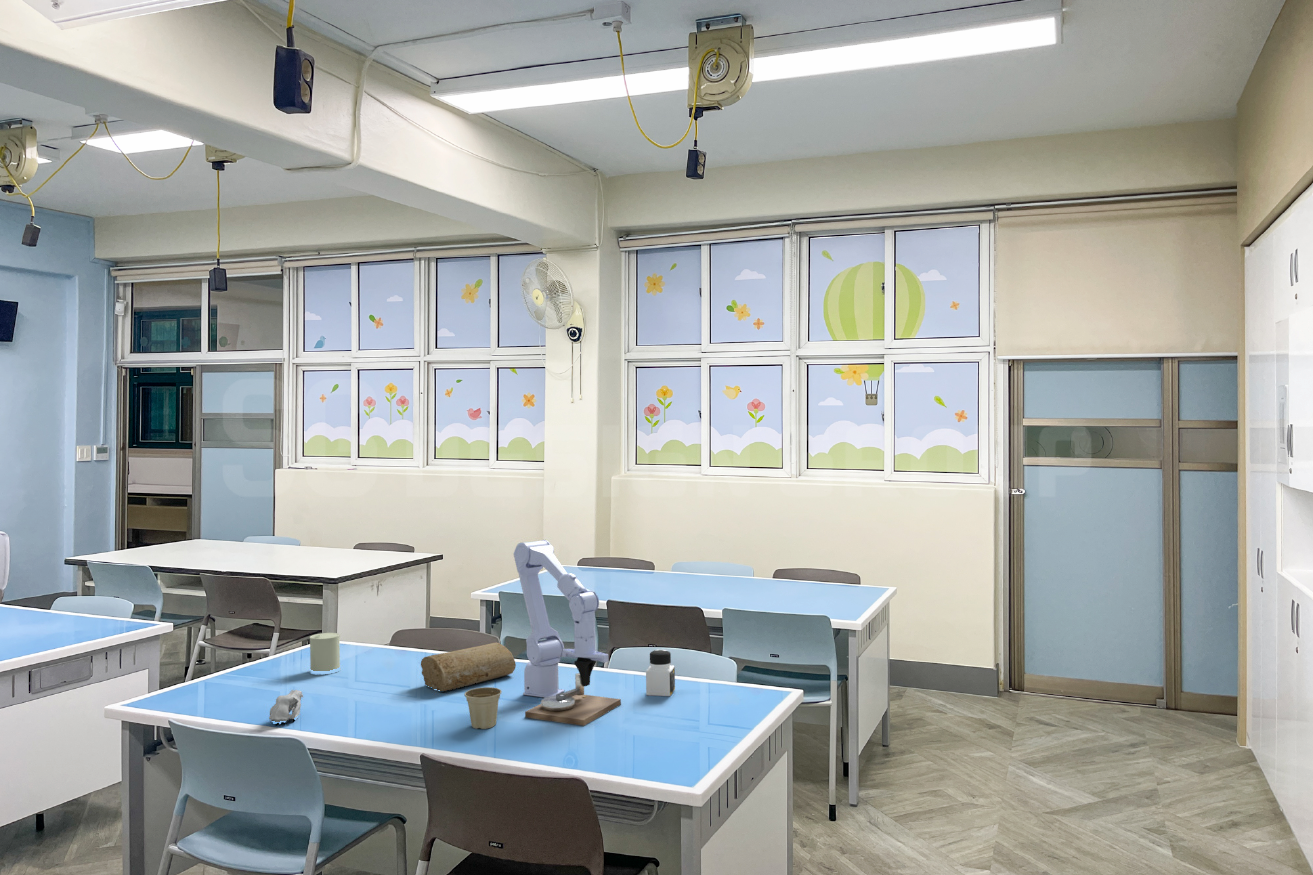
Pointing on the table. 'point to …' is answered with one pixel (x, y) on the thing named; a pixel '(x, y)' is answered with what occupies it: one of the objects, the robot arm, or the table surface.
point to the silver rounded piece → (563, 697)
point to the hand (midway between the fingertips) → (585, 685)
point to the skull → (286, 706)
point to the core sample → (467, 666)
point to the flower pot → (483, 706)
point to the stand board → (577, 710)
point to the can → (324, 651)
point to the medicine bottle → (660, 674)
